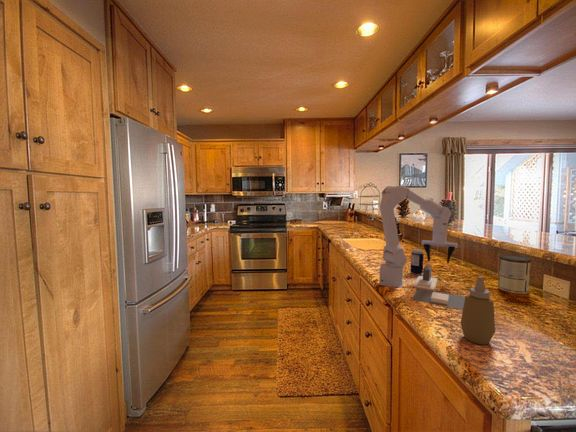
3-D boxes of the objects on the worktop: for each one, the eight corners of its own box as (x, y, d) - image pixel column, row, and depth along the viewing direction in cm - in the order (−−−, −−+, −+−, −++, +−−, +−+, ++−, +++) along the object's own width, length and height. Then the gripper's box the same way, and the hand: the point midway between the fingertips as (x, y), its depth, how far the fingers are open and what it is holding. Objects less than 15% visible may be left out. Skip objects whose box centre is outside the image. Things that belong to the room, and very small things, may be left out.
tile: (432, 295, 109) (430, 301, 103) (432, 291, 109) (430, 297, 103) (448, 298, 106) (447, 305, 100) (448, 294, 106) (447, 300, 100)
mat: (411, 301, 105) (411, 299, 105) (417, 289, 117) (417, 288, 117) (471, 313, 95) (471, 311, 95) (471, 299, 107) (471, 297, 107)
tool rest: (413, 287, 119) (413, 285, 119) (418, 277, 134) (418, 275, 134) (433, 291, 115) (433, 289, 115) (437, 280, 129) (437, 278, 129)
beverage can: (424, 275, 137) (425, 252, 136) (411, 275, 138) (412, 251, 137) (420, 272, 142) (422, 249, 141) (409, 271, 143) (410, 249, 142)
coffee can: (493, 284, 124) (495, 253, 123) (521, 287, 121) (524, 255, 120) (503, 292, 115) (505, 259, 113) (533, 295, 111) (536, 261, 110)
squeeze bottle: (453, 332, 81) (456, 273, 80) (478, 331, 82) (482, 272, 81) (473, 348, 73) (478, 282, 72) (502, 346, 74) (506, 281, 73)
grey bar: (417, 285, 120) (418, 271, 119) (422, 276, 132) (422, 264, 132) (430, 287, 117) (431, 273, 117) (434, 278, 130) (434, 265, 129)
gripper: (458, 232, 125) (456, 262, 127) (423, 230, 133) (422, 257, 134) (458, 234, 119) (456, 265, 121) (421, 232, 127) (420, 260, 129)
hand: (438, 261), depth 127 cm, fingers open, 7 cm apart
